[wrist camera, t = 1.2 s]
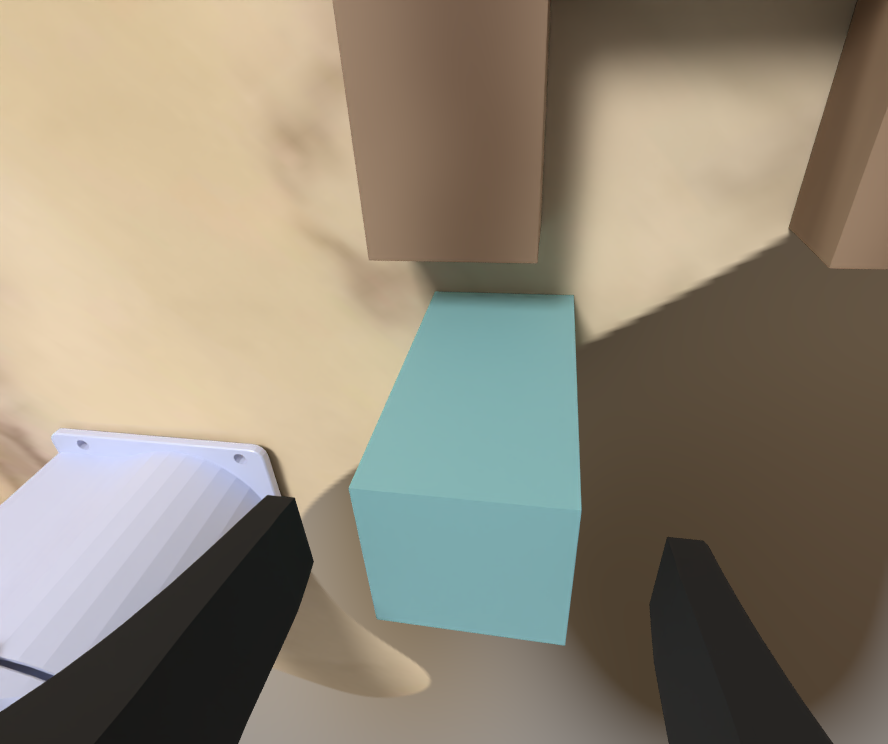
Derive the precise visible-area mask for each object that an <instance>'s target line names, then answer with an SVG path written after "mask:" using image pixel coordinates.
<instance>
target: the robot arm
mask: <svg viewBox="0 0 888 744" xmlns="http://www.w3.org/2000/svg"><path fill="white" fill-rule="evenodd" d="M51 439H52V442H53V444H54V445H55V447H56V449H57V450H58V452H59V453H58V454H57V455H56V456H55V457H54V458H53V459H51V460H50V461H49V462H48V463H47V464H46V465H45V466H44V467H42V468H41V469H40V470H39V471H38V472H37V473H36V474H35V475H34V476H32V477H31V478H30V479H29V480H28V481H27V482H26V483H25V484H23V485H22V486H21V487H20V488H19V489H18V490H17V491H16V492H15V493H13V494H12V495H11V496H10V497H9V498H8V499H7V500H6V501H4V502H3V503H2V504H1V505H0V744H238V743H239V740H240V738H241V735H242V733H243V731H244V728H245V726H246V724H247V721H248V719H249V717H250V715H251V713H252V711H253V708H254V706H255V704H256V702H257V700H258V698H259V695H260V693H261V691H262V689H263V687H264V684H265V682H266V680H267V678H268V676H269V673H270V671H271V669H272V667H273V665H274V663H275V661H276V658H277V656H278V654H279V652H280V650H281V648H282V645H283V643H284V641H285V639H286V636H287V634H288V632H289V630H290V628H291V625H292V623H293V621H294V619H295V616H296V614H297V612H298V609H299V606H300V603H301V600H302V597H303V594H304V591H305V588H306V585H307V582H308V579H309V575H310V572H311V569H312V566H313V562H314V561H313V557H312V554H311V551H310V547H309V544H308V541H307V537H306V534H305V531H304V527H303V524H302V521H301V517H300V514H299V511H298V507H297V504H296V501H295V498H292V497H283V496H281V494H280V491H279V488H278V485H277V482H276V478H275V475H274V472H273V469H272V466H271V463H270V459H269V456H268V454H267V452H266V451H265V450H264V449H263V448H262V447H260V446H258V445H254V444H243V443H231V442H220V441H208V440H196V439H184V438H172V437H160V436H148V435H137V434H125V433H113V432H101V431H89V430H77V429H65V428H61V429H58V430H57V431H56V432H55V433H54V434H52V436H51ZM242 455H243V456H242ZM650 618H651V632H652V643H653V644H652V645H653V655H654V665H655V671H656V676H657V682H658V688H659V693H660V698H661V704H662V709H663V715H664V720H665V725H666V731H667V736H668V742H669V744H833V743H832V741H831V740H830V738H829V737H828V736H827V734H826V733H825V731H824V730H823V729H822V727H821V726H820V724H819V723H818V722H817V720H816V719H815V717H814V716H813V715H812V713H811V712H810V710H809V709H808V708H807V706H806V705H805V703H804V702H803V700H802V699H801V697H800V696H799V694H798V693H797V692H796V690H795V689H794V687H793V686H792V684H791V683H790V681H789V680H788V678H787V677H786V675H785V674H784V672H783V670H782V669H781V667H780V666H779V664H778V663H777V661H776V660H775V658H774V656H773V655H772V654H771V652H770V650H769V649H768V648H767V646H766V644H765V643H764V641H763V640H762V638H761V636H760V635H759V633H758V632H757V630H756V628H755V627H754V625H753V624H752V622H751V620H750V619H749V617H748V615H747V614H746V612H745V610H744V608H743V607H742V605H741V604H740V602H739V600H738V599H737V597H736V595H735V593H734V591H733V590H732V588H731V586H730V585H729V583H728V581H727V579H726V577H725V576H724V574H723V572H722V570H721V568H720V567H719V565H718V563H717V561H716V559H715V557H714V555H713V554H712V552H711V550H710V548H709V546H708V545H707V544H706V543H705V542H704V541H700V540H691V539H682V538H673V537H672V538H671V537H667V539H666V544H665V547H664V551H663V555H662V558H661V562H660V566H659V570H658V574H657V578H656V581H655V585H654V589H653V593H652V597H651V601H650Z"/></svg>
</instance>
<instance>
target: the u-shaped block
mask: <svg viewBox="0 0 888 744" xmlns="http://www.w3.org/2000/svg"><path fill="white" fill-rule="evenodd" d="M550 6H551V0H333V7H334V14H335V21H336V29H337V36H338V43H339V50H340V57H341V64H342V71H343V78H344V86H345V93H346V100H347V107H348V114H349V121H350V128H351V135H352V143H353V150H354V157H355V164H356V171H357V178H358V185H359V193H360V200H361V207H362V214H363V221H364V228H365V235H366V242H367V250H368V257H369V260H378V261H435V262H492V263H537V259H538V249H539V240H540V230H541V211H542V188H543V165H544V143H545V120H546V97H547V74H548V51H549V28H550ZM789 228H790V229H791V230H792V231H793V232H794V233H795V234H796V235H797V236H798V237H799V238H800V239H801V240H802V241H803V242H804V243H805V244H806V245H807V246H808V247H809V248H810V249H811V250H812V252H813V253H814V254H816V255H817V256H818V258H820V260H821V261H822V262H824V264H825V265H827V266H828V268H837V269H888V0H858V1H857V4H856V7H855V11H854V14H853V17H852V21H851V24H850V27H849V31H848V34H847V37H846V40H845V44H844V47H843V50H842V54H841V57H840V60H839V64H838V67H837V70H836V73H835V77H834V80H833V83H832V87H831V90H830V93H829V97H828V100H827V103H826V106H825V110H824V113H823V116H822V120H821V123H820V126H819V130H818V133H817V136H816V139H815V143H814V146H813V149H812V153H811V156H810V159H809V163H808V166H807V169H806V173H805V176H804V179H803V182H802V186H801V189H800V192H799V196H798V199H797V202H796V206H795V209H794V212H793V215H792V219H791V222H790V225H789Z"/></svg>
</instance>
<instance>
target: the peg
mask: <svg viewBox="0 0 888 744" xmlns="http://www.w3.org/2000/svg"><path fill="white" fill-rule="evenodd" d="M578 429H579V428H578V401H577V373H576V345H575V318H574V295H548V294H512V293H475V292H438V291H435V293H434V295H433V298H432V300H431V302H430V305H429V307H428V309H427V311H426V314H425V316H424V318H423V320H422V323H421V325H420V327H419V329H418V332H417V334H416V336H415V339H414V341H413V343H412V345H411V348H410V350H409V352H408V354H407V357H406V359H405V361H404V364H403V366H402V368H401V370H400V373H399V375H398V377H397V379H396V382H395V384H394V386H393V389H392V391H391V393H390V395H389V398H388V400H387V402H386V404H385V407H384V409H383V411H382V414H381V416H380V418H379V420H378V423H377V425H376V427H375V429H374V432H373V434H372V436H371V439H370V441H369V443H368V445H367V448H366V450H365V452H364V454H363V457H362V459H361V461H360V463H359V466H358V468H357V470H356V473H355V475H354V477H353V480H352V482H351V484H350V486H349V492H350V497H351V501H352V506H353V511H354V515H355V520H356V525H357V529H358V534H359V539H360V543H361V548H362V553H363V557H364V562H365V567H366V571H367V576H368V580H369V585H370V590H371V594H372V599H373V604H374V608H375V613H376V618H377V619H379V620H387V621H393V622H401V623H408V624H415V625H422V626H429V627H436V628H443V629H451V630H458V631H465V632H472V633H479V634H486V635H493V636H500V637H507V638H515V639H522V640H529V641H537V642H544V643H551V644H557V645H565V641H566V633H567V624H568V617H569V608H570V600H571V592H572V584H573V575H574V568H575V560H576V551H577V543H578V535H579V526H580V519H581V485H580V484H581V482H580V455H579V430H578Z"/></svg>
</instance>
